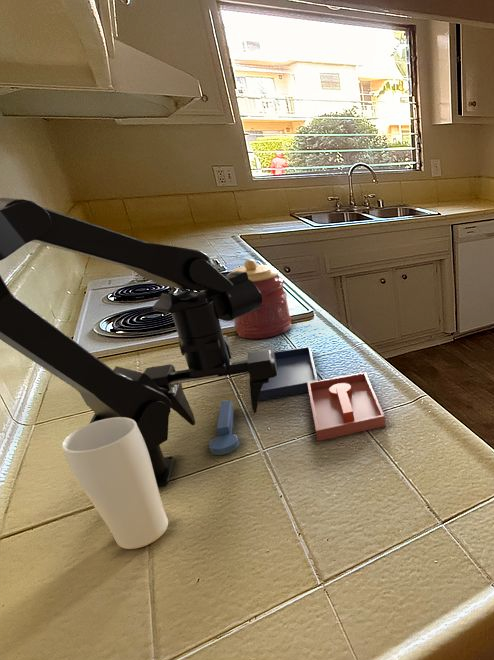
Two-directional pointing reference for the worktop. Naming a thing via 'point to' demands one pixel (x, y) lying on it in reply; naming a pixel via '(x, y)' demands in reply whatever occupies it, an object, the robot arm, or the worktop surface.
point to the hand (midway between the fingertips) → (225, 417)
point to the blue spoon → (224, 431)
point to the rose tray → (330, 413)
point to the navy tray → (290, 374)
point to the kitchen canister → (264, 304)
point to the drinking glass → (118, 479)
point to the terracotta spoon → (343, 400)
